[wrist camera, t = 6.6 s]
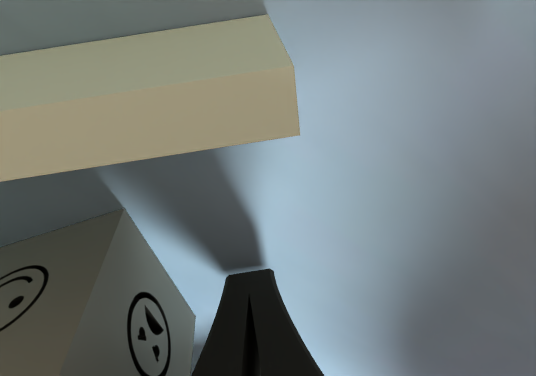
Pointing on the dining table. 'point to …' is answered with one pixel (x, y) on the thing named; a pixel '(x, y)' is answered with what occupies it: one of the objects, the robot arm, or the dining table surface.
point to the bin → (145, 97)
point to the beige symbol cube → (91, 305)
